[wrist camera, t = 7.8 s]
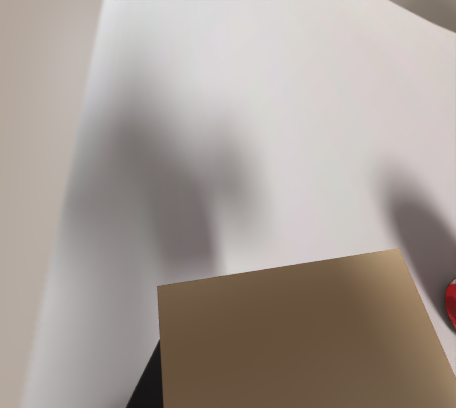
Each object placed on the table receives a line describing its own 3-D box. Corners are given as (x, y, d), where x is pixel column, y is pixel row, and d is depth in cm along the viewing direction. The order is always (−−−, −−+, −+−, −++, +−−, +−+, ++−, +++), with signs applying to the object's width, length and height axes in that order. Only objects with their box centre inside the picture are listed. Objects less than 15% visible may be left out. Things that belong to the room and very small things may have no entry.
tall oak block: (275, 380, 14) (556, 607, 3) (194, 399, 13) (184, 793, 2) (258, 295, 16) (399, 248, 5) (186, 307, 15) (157, 286, 4)
